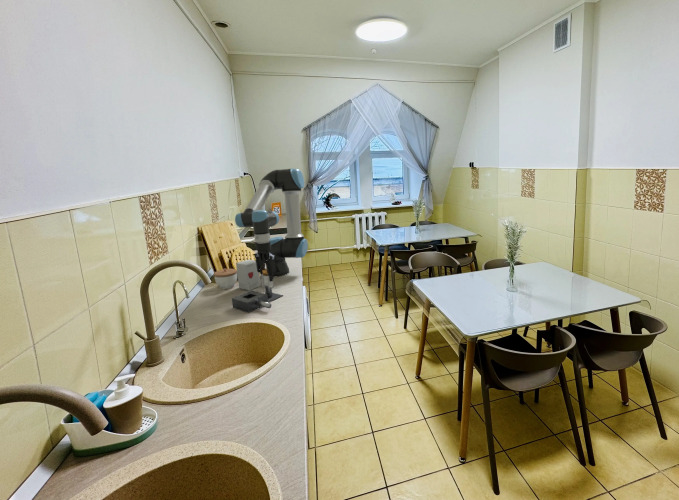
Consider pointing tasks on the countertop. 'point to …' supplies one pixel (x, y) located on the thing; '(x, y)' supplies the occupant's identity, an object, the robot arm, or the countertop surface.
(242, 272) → the supplement box
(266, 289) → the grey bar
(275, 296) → the mat
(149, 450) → the countertop surface
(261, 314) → the countertop surface
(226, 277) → the lidded bowl
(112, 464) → the countertop surface
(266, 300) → the block
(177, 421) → the countertop surface
